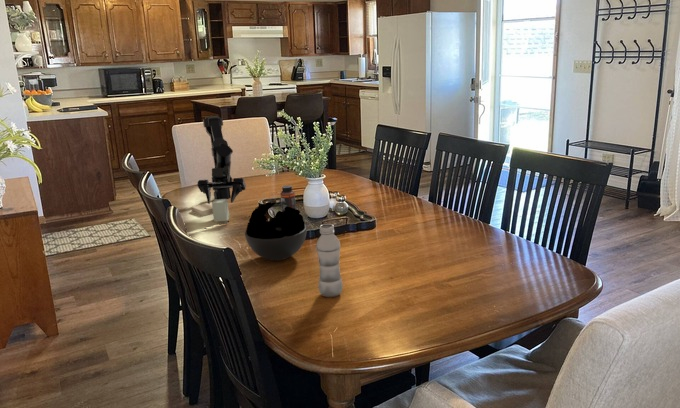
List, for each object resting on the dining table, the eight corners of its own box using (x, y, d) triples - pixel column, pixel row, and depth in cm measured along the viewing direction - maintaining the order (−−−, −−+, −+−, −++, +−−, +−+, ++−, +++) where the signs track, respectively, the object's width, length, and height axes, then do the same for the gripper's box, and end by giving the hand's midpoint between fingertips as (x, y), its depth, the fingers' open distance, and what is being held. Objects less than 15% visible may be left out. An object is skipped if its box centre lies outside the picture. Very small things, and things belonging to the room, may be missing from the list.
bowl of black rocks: (241, 254, 193) (235, 201, 188) (297, 243, 200) (293, 192, 195) (257, 274, 175) (251, 216, 170) (317, 261, 182) (313, 205, 177)
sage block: (217, 220, 233) (214, 199, 231) (229, 220, 233) (227, 198, 231) (214, 224, 228) (211, 202, 226) (226, 223, 228) (224, 202, 226)
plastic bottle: (318, 291, 161) (313, 223, 155) (342, 288, 161) (338, 221, 156) (319, 300, 154) (314, 230, 149) (344, 298, 155) (340, 228, 149)
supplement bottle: (297, 210, 241) (295, 184, 238) (295, 214, 235) (292, 188, 232) (283, 210, 241) (281, 184, 238) (280, 214, 236) (278, 188, 233)
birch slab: (212, 206, 250) (212, 201, 250) (224, 210, 243) (223, 205, 242) (191, 211, 244) (191, 207, 244) (202, 215, 237) (202, 211, 236)
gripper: (195, 160, 230) (191, 193, 222) (241, 158, 229) (238, 191, 221) (202, 175, 239) (199, 207, 232) (246, 173, 239) (244, 205, 231)
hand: (220, 202), depth 229 cm, fingers open, 9 cm apart
